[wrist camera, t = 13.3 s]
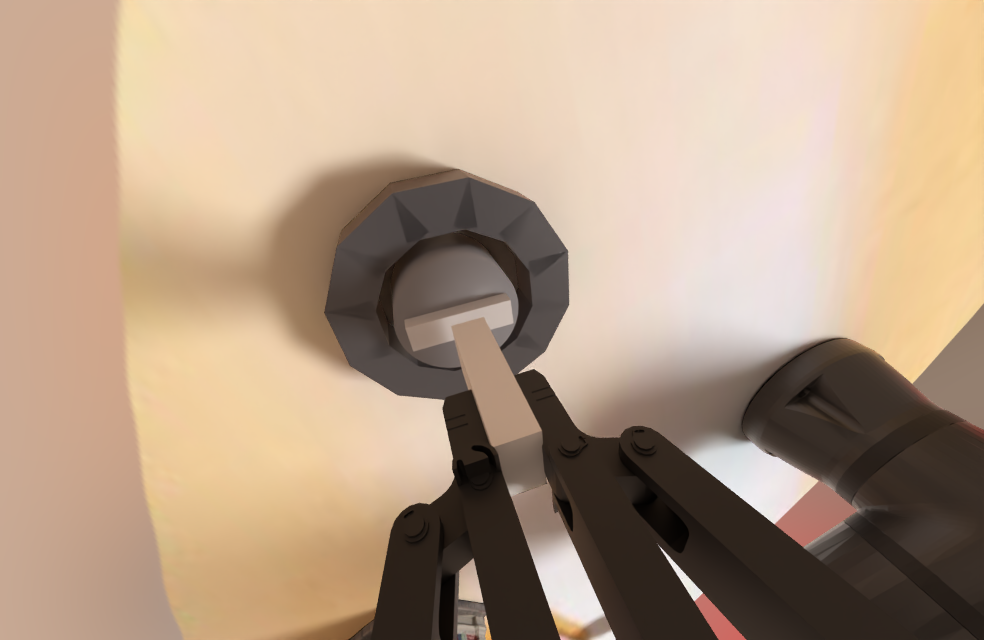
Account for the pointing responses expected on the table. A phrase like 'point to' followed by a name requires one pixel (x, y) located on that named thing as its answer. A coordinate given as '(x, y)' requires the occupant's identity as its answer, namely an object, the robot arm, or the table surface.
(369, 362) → the faceted gray torus
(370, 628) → the model building
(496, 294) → the cap
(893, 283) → the table surface
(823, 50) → the table surface
